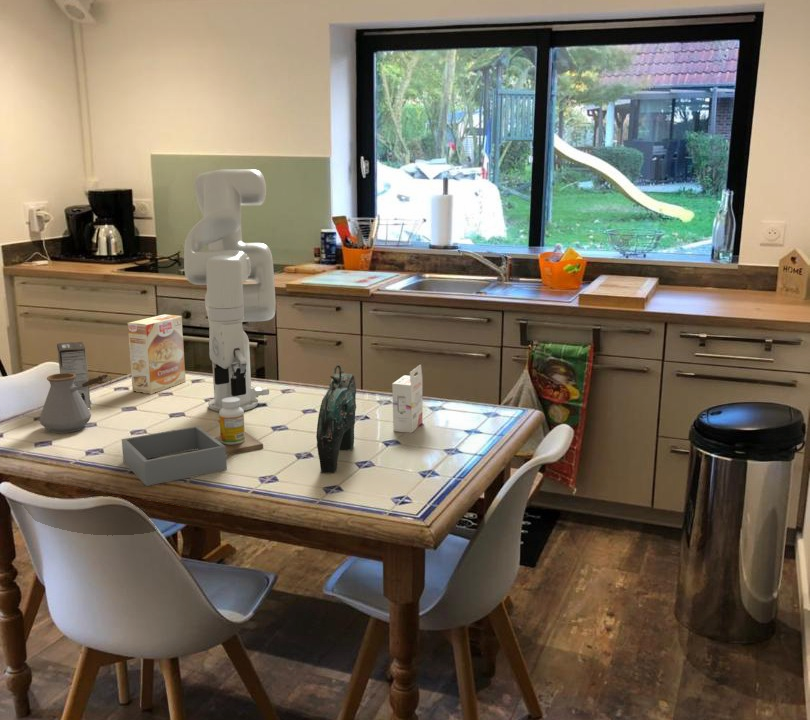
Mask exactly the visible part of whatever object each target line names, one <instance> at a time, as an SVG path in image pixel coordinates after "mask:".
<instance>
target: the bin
mask: <svg viewBox="0 0 810 720" xmlns="http://www.w3.org/2000/svg"><path fill="white" fill-rule="evenodd" d="M215 438H216V437H214V436H212V435H211V434H210V433H208V432H207V431H205V429H203V428H202V427H200V426H199V425H195V426H190V427H184V428H179V429H172V430H166V431H162V432H155V433H148V434H145V435H144V434H143V435H137V436H133V437H127V438H121V448H122V449H121V450H122V460H123V463H124V464H125V465H126V467H128V468H129V469H130V471H132V473H133V474H134V475H135V476H136V477H137V478H138V479H139V480H140V482H142V483H143V485H145V486H146V487H149V486H153V485H159V484H164V483H168V482H174V481H178V480H182V479H183V480H184V479H187V478H192V477H197V476H202V475H207V474H211V473H216V472H222V471H227V469H228V467H227V466H228V465H227V463H228V462H227V455H226V446H224V445H223V444H222V443H220V442H219V441H218V440H216V439H215ZM151 458H152V459H151Z"/></svg>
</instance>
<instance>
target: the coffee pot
mask: <svg viewBox="0 0 810 720" xmlns="http://www.w3.org/2000/svg"><path fill="white" fill-rule="evenodd" d="M75 377H76V375H75V374H72V373H61V374H60V373H55V374H51V375H48V376H47V377H46V380H47V381H48V383H49V384H50V387H49V390H48V393H47V396H46V399H45V402H44V405H43V408H42V410H41V413H40V416H39V422H40V424H41V426H43V427H44V428H45V429H47V430H48V431H49V432H51V433H53V434H68V433H75V432H78V431H80V430H82V429H83V428H84V427H85V426H86V425H87V424H88V422H90V419H91V417H92V413H91V411H90V409H88V407H87V406H86V404H85V402H84V400H83V399H82V397H81V395H80V394H79V392H78V389H81V388H83V387H86V386H89V387H90V386H92V385H95V384H96V383H98V382H101V381H103V382H104V384H107V382H106V381H105V380H104V379H107V378H110V379H112V376H110V375H108V374H103V375H98V377H93V378H92V379H88V381H87V382H85V383H83V384H81V385H79V386H76V387H75V385H74V378H75ZM111 382H112V380H109V382H108V384H109V383H111Z"/></svg>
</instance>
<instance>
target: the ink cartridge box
mask: <svg viewBox="0 0 810 720" xmlns="http://www.w3.org/2000/svg"><path fill="white" fill-rule="evenodd" d="M416 373H417V374H416ZM415 374H416V375H415ZM391 388H392V389H391V390H392V424H393V425H392V426H393V427H392V428H393V429H392V431H393V432H400V433H408V434H409V433H410V434H411V433H413V432H414V431H416V429H417V428H419V427H420V426H421V425H422V423H423V371H422V364H419V365H417V366H416V367H414V368H413V369H412V370H411V371H409V375H402V376H401V377H400V378H398V379H397V380H396V381H394V382H392V383H391Z"/></svg>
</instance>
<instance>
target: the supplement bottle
mask: <svg viewBox="0 0 810 720" xmlns="http://www.w3.org/2000/svg"><path fill="white" fill-rule="evenodd" d="M239 406H240V399H239V398H237V397H229V398H224V399H222V407H223V408H222V409H221V410H220V411H218V412H219V413H218V418H219V419H218V420H219V434H220V435H219V437H221V442H222V443H223V444H227V445H234V444H240V443H242V442H244V441H245V432H246V427H245V412H244V411H243V409H242V408H241V407H239Z"/></svg>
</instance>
